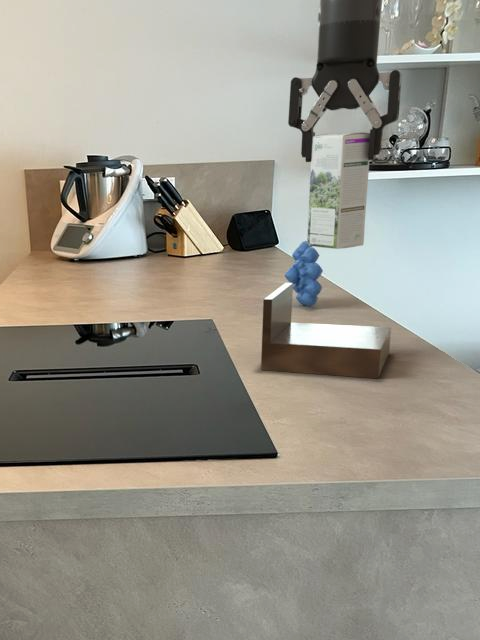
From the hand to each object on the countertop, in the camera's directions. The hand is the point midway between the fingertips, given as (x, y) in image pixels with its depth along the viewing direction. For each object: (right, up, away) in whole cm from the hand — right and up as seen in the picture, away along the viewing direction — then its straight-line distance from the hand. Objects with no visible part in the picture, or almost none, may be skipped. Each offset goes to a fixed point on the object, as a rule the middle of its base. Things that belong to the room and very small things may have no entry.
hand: (339, 160), depth 106 cm
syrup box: (+1, -10, +4) cm, 11 cm away
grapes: (+6, -9, +48) cm, 49 cm away
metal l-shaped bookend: (+1, -26, +9) cm, 27 cm away
